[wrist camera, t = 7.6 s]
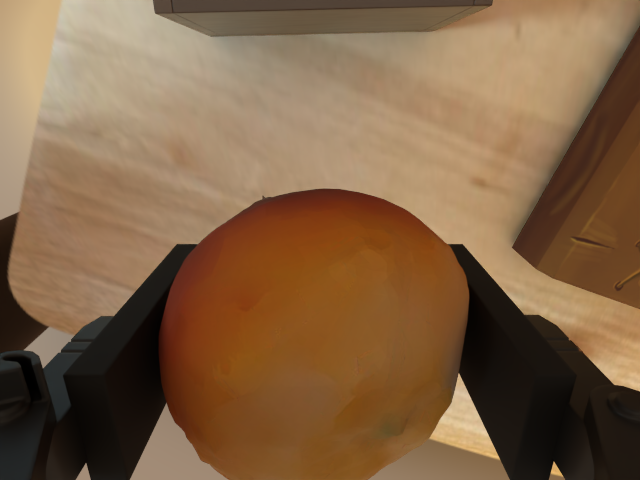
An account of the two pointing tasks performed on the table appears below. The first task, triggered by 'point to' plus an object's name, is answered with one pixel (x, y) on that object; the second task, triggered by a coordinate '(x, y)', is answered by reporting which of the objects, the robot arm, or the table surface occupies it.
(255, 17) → the chest
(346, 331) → the fruit
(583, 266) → the diary
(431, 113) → the table surface
